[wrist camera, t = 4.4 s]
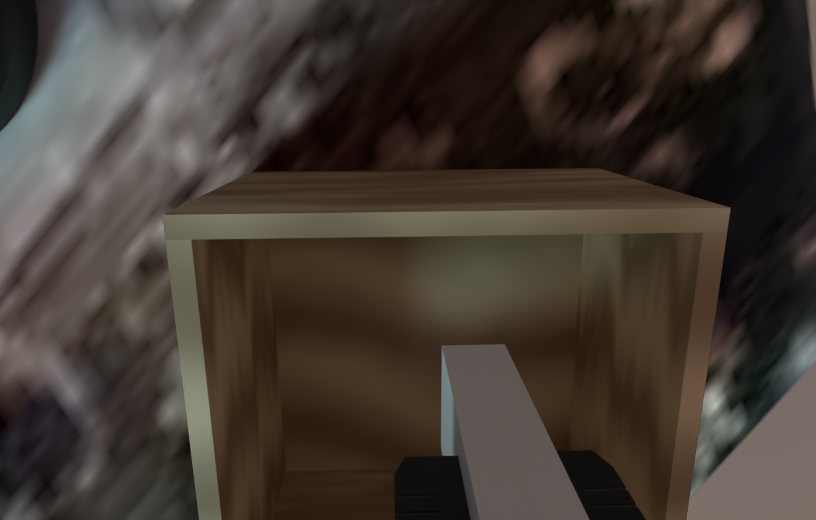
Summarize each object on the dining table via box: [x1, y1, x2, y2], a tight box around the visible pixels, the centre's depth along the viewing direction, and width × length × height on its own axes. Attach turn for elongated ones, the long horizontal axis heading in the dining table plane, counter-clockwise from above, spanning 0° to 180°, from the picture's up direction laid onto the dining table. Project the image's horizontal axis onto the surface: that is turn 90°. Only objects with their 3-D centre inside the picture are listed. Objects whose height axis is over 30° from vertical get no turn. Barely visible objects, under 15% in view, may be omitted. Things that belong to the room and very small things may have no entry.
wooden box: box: [162, 168, 730, 520], centre depth 26 cm, size 18×18×12 cm
